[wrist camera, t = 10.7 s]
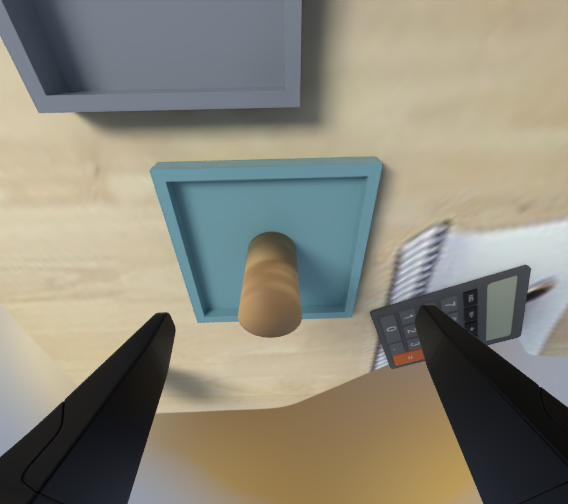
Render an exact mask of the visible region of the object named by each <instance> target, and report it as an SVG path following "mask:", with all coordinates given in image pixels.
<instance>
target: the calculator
mask: <svg viewBox="0 0 568 504" xmlns="http://www.w3.org/2000/svg"><path fill="white" fill-rule="evenodd" d="M530 271H531V268H530V267H529V266H527V265H523V266H520V267H517V268H513V269H510V270H506V271H503V272H500V273H496V274H493V275H490V276H486V277H483V278H480V279H476V280H473V281H469V282H466V283H463V284H459V285H456V286H453V287H449V288H446V289H443V290H439V291H436V292H432V293H429V294H426V295H422V296H419V297H416V298H412V299H409V300H406V301H402V302H399V303H396V304H392V305H389V306H385V307H382V308H379V309H375V310H373V311H371V312H370V314H371V317H372V320H373V322H374V325H375V328H376V330H377V333H378V336H379V338H380V341H381V344H382V347H383V349H384V352H385V355H386V357H387V360H388V363H389V365H390V368H391V369H394V368H398V367H402V366H406V365H410V364H414V363H418V362H422V361H425V359H424V355H423V352H422V348H421V345H420V341H419V338H418V335H417V331H416V328H415V323H414V321H415V317H416V315H417V312H418V310H419V307H420V306H421V305H423V304H433V305H435V306H437V307H438V308H439V309H441V310H442V311H443V312H444V313H446V314H447V315H448V316H450V317H451V318H452V319H453V320H455V321H456V322H457V323H459V324H460V325H461V326H463V327H464V328H465V329H466V330H468V331H469V332H470V333H472V334H473V335H474V336H476V337H477V338H478V339H479V340H481V341H482V342H483V343H485V344H486V345H490V344H494V343H498V342H502V341H506V340H510V339H514V338H517V337H519V336H520V335H521V331H522V324H523V318H524V311H525V304H526V298H527V291H528V285H529V278H530Z"/></svg>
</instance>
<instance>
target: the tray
mask: <svg viewBox="0 0 568 504" xmlns="http://www.w3.org/2000/svg"><path fill="white" fill-rule="evenodd" d="M382 165H383V164H382V163H381V162H380V160H379V159H378V158H377V157H345V158H306V159H268V160H230V161H191V162H157V163H156V164H155V165H154V166H153V167H152V168H151V169H150V174H151V177H152V180H153V183H154V186H155V189H156V193H157V196H158V199H159V202H160V205H161V208H162V212H163V215H164V218H165V221H166V224H167V227H168V231H169V234H170V237H171V240H172V243H173V246H174V250H175V253H176V256H177V259H178V262H179V265H180V269H181V272H182V275H183V278H184V281H185V284H186V288H187V291H188V294H189V297H190V300H191V303H192V307H193V310H194V313H195V316H196V319H197V322H198V323H205V322H233V321H239V320H238V312H239V305H240V299H241V292H242V286H243V279H244V273H245V266H246V259H247V253H248V247H249V244H250V242H251V241H252V239H253V238H254V237H256V236H257V235H259V234H261V233H264V232H279V233H282V234H284V235H286V236H288V237H289V238H290V239H291V240H292V241H293V243H294V245H295V248H296V257H297V268H298V279H299V290H300V301H301V312H302V319H318V318H346V317H352V315H353V310H354V305H355V300H356V295H357V290H358V285H359V280H360V275H361V270H362V265H363V260H364V255H365V250H366V245H367V240H368V235H369V230H370V225H371V220H372V215H373V210H374V205H375V200H376V195H377V190H378V185H379V180H380V175H381V170H382Z"/></svg>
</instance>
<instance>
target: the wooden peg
mask: <svg viewBox="0 0 568 504" xmlns="http://www.w3.org/2000/svg"><path fill="white" fill-rule="evenodd" d="M238 320H239V323H240V324H241V326H242V327H243V328H244V329H245V330H246V331H248V332H249V333H251V334H254V335H257V336H260V337H270V338H272V337H280V336H284V335H287V334H289V333H291V332H292V331H294V330H295V329H296V328H297V327H298V326H299V324H300V323H301V320H302V312H301V301H300V290H299V279H298V268H297V257H296V248H295V245H294V243H293V241H292V240H291V239H290V238H289V237H288V236H286V235H284V234H282V233H279V232H264V233H261V234H259V235H257V236H256V237H254V238H253V239H252V241H251V242H250V244H249V247H248V253H247V259H246V266H245V273H244V279H243V286H242V292H241V299H240V305H239V312H238Z"/></svg>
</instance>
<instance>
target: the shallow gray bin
mask: <svg viewBox="0 0 568 504" xmlns="http://www.w3.org/2000/svg"><path fill="white" fill-rule="evenodd" d="M301 16H302V0H0V36H1V38H2V40H3V42H4V44H5V46H6V48H7V50H8V52H9V54H10V56H11V58H12V60H13V62H14V64H15V66H16V68H17V70H18V72H19V74H20V76H21V78H22V80H23V82H24V84H25V86H26V88H27V90H28V92H29V94H30V96H31V98H32V100H33V102H34V104H35V106H36V108H37V110H38V112H39V113H64V112H108V111H151V110H195V109H238V108H282V107H300V75H301Z"/></svg>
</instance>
